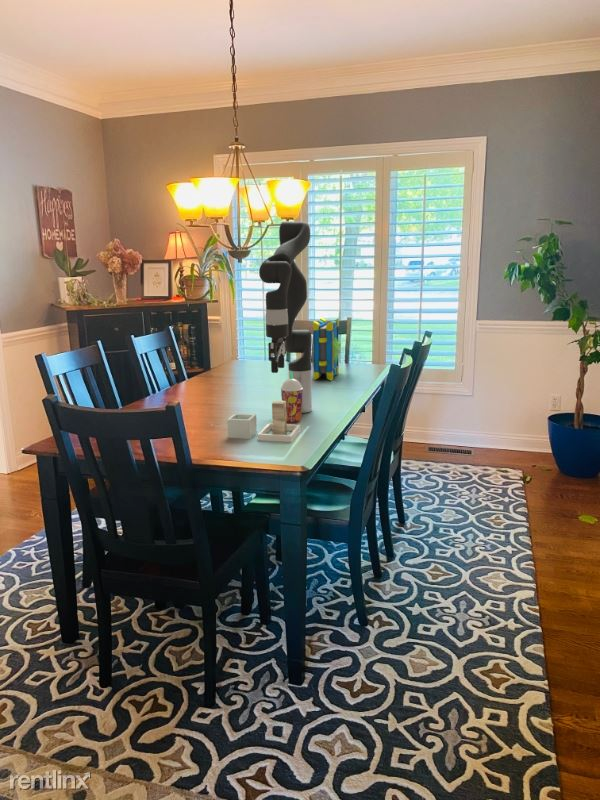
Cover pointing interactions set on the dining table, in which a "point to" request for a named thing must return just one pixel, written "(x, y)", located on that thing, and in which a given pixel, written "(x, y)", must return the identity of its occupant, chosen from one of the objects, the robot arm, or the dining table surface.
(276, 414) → the birch peg
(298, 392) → the smoothie
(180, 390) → the dining table surface
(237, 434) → the white open box
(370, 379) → the dining table surface
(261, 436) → the plastic tray
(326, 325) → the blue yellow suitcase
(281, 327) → the robot arm
